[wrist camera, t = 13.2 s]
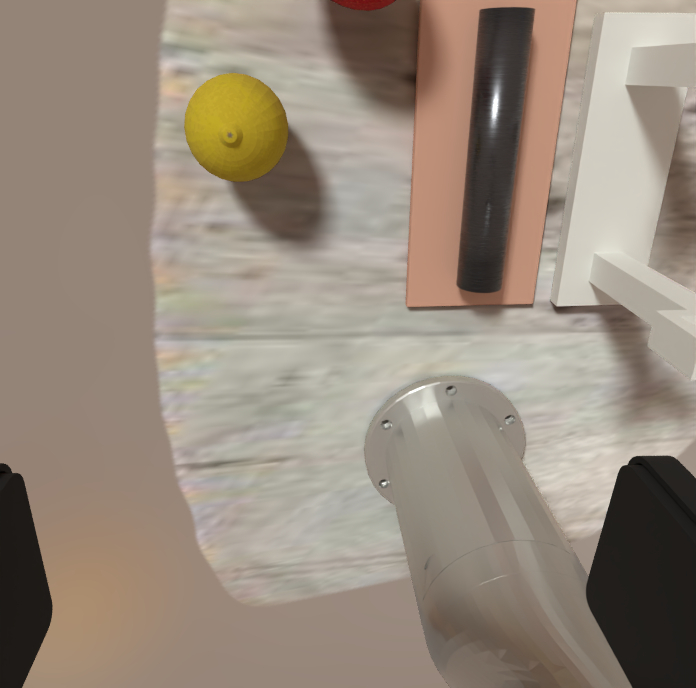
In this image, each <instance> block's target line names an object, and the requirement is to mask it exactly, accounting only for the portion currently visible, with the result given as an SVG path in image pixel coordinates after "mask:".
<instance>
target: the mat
mask: <svg viewBox="0 0 696 688" xmlns="http://www.w3.org/2000/svg"><path fill="white" fill-rule="evenodd" d="M576 1H577V0H420V11H419V32H418V53H417V74H416V95H415V116H414V137H413V158H412V179H411V200H410V221H409V242H408V263H407V285H406V306H407V307H422V306H462V305H501V304H533V299H534V292H535V285H536V278H537V271H538V264H539V257H540V250H541V243H542V236H543V230H544V223H545V216H546V209H547V202H548V195H549V188H550V181H551V174H552V167H553V160H554V154H555V147H556V140H557V133H558V126H559V119H560V112H561V105H562V98H563V91H564V84H565V77H566V71H567V64H568V57H569V50H570V43H571V36H572V29H573V22H574V15H575V8H576ZM498 7H527V8H534V9H535V16H534V25H533V33H532V41H531V50H530V58H529V67H528V75H527V83H526V92H525V100H524V108H523V117H522V125H521V133H520V142H519V150H518V159H517V167H516V175H515V184H514V192H513V200H512V209H511V217H510V225H509V234H508V242H507V251H506V259H505V267H504V276H503V284H502V289H501V290H499V291H497V292H492V293H475V292H469V291H465V290H462V289H460V288H459V287H457V285H456V280H457V268H458V256H459V244H460V232H461V221H462V209H463V197H464V185H465V173H466V162H467V150H468V138H469V126H470V114H471V103H472V91H473V79H474V67H475V55H476V44H477V32H478V20H479V10H481V9H486V8H498Z"/></svg>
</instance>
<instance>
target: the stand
mask: <svg viewBox="0 0 696 688" xmlns="http://www.w3.org/2000/svg"><path fill="white" fill-rule="evenodd" d="M688 87H694V88H696V13H630V12H603V13H598V14H595V18H594V24H593V31H592V37H591V44H590V50H589V56H588V63H587V69H586V75H585V82H584V88H583V94H582V101H581V107H580V113H579V120H578V126H577V132H576V139H575V145H574V151H573V158H572V164H571V170H570V177H569V183H568V190H567V196H566V202H565V209H564V215H563V221H562V228H561V234H560V240H559V247H558V253H557V259H556V266H555V272H554V278H553V285H552V291H551V297H550V301H551V302H553V303H554V304H555V305H556V306H586V305H623V306H624V307H626V308H627V309H628V310H630V311H631V312H633V313H634V314H635V315H637V316H638V317H639V318H641V319H642V320H644V321H645V322H646V323H648V324H649V325H651V326H652V327H651V332H650V336H649V340H648V344H647V346H648V347H649V348H650V349H651V350H653V351H654V352H655V353H657V354H658V355H659V356H660V357H662V358H663V359H664V360H665V361H667V362H668V363H669V364H671V365H672V366H673V367H674V368H676V369H677V370H678V371H680V372H681V373H682V374H683V375H685V376H686V377H687V378H688V379H690V380H696V293H695V292H693V291H691V290H689V289H688V288H686V287H684V286H682V285H680V284H679V283H677V282H675V281H673V280H671V279H670V278H668V277H666V276H664V275H662V274H660V273H659V272H657V271H655V270H653V269H651V268H650V267H648V262H649V258H650V253H651V249H652V245H653V240H654V236H655V231H656V227H657V222H658V218H659V214H660V209H661V205H662V200H663V196H664V191H665V187H666V183H667V178H668V174H669V169H670V165H671V160H672V156H673V152H674V147H675V143H676V138H677V134H678V129H679V125H680V121H681V116H682V112H683V107H684V103H685V99H686V94H687V90H688Z"/></svg>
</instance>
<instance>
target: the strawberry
mask: <svg viewBox="0 0 696 688" xmlns="http://www.w3.org/2000/svg"><path fill="white" fill-rule="evenodd" d="M331 1H333V2H335V3H337V4H339V5H341V6H344V7H347V8H351V9H354V10H364V11H370V10H376V9H381V8H383V7H385V6H388V5H390V4H392V3H393V2H394V1H396V0H331Z"/></svg>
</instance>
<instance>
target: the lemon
mask: <svg viewBox="0 0 696 688" xmlns="http://www.w3.org/2000/svg"><path fill="white" fill-rule="evenodd" d="M184 128H185V134H186V139H187V143H188V145H189V147H190V150H191V152H192V154H193V155H194V157H195V158H196V160H197V161H198V162H199V164H200V165H201V166H203V167H204V168H205V169H206V170H207V171H208V172H210V173H211V174H213V175H215V176H217V177H219V178H221V179H225V180H229V181H233V182H244V181H250V180H253V179H257V178H259V177H261V176H263V175H264V174H266V173H268V172H269V171H270V170H271V169H272V168H273V167H274V166H275V165H276V164H277V163H278V162H279V160H280V158H281V157H282V155H283V153H284V151H285V148H286V144H287V140H288V122H287V117H286V113H285V110H284V108H283V106H282V104H281V102H280V100H279V98H278V97H277V96H276V95H275V93H274V92H273V91H272V90H271V89H270V88H269V87H268V86H267V85H265V84H264V83H263V82H261V81H260V80H258V79H255V78H253V77H251V76H248V75H244V74H237V73H229V74H223V75H219V76H216V77H214V78H212V79H210V80H208V81H206V82H205V83H204V84H203V85H202V86H200V87H199V88H198V89H197V90H196V92H195V93H194V95H193V96H192V98H191V99H190V101H189V104H188V107H187V110H186V113H185V126H184Z"/></svg>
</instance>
